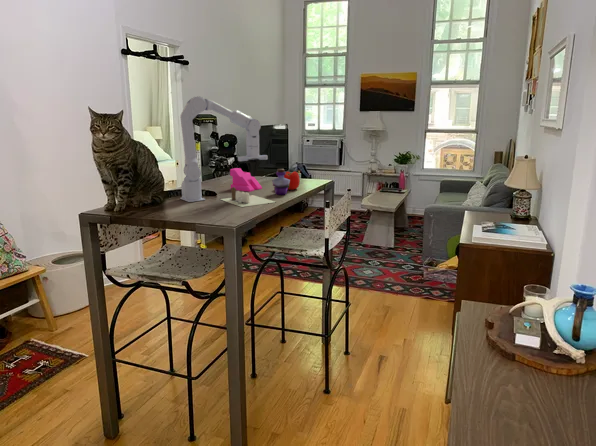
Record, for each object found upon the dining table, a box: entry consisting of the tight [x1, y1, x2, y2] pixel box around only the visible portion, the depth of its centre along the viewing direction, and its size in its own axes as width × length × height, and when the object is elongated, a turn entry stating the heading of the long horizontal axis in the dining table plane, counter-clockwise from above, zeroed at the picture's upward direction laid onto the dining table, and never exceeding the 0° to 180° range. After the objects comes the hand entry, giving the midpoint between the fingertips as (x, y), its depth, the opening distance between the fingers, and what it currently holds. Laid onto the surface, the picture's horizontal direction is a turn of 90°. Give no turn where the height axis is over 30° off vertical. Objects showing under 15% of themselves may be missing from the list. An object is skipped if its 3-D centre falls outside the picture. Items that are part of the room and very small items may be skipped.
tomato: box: [284, 171, 301, 191], centre depth 226 cm, size 11×12×9 cm
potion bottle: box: [271, 168, 290, 196], centre depth 212 cm, size 9×9×12 cm
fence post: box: [230, 187, 237, 200], centre depth 197 cm, size 2×2×6 cm
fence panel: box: [236, 190, 250, 203], centre depth 193 cm, size 8×1×4 cm, turn 46°
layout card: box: [219, 194, 276, 208], centre depth 197 cm, size 19×17×1 cm
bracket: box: [229, 167, 263, 193], centre depth 225 cm, size 12×10×10 cm
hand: (253, 176), depth 205 cm, fingers closed
